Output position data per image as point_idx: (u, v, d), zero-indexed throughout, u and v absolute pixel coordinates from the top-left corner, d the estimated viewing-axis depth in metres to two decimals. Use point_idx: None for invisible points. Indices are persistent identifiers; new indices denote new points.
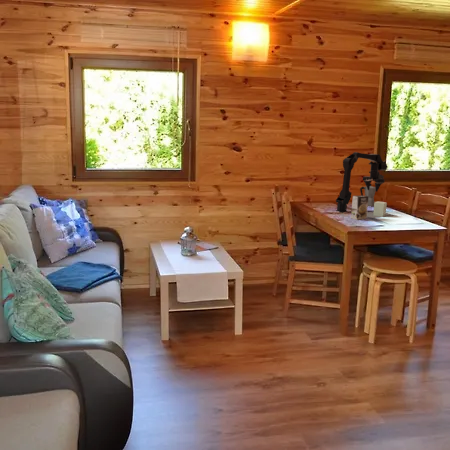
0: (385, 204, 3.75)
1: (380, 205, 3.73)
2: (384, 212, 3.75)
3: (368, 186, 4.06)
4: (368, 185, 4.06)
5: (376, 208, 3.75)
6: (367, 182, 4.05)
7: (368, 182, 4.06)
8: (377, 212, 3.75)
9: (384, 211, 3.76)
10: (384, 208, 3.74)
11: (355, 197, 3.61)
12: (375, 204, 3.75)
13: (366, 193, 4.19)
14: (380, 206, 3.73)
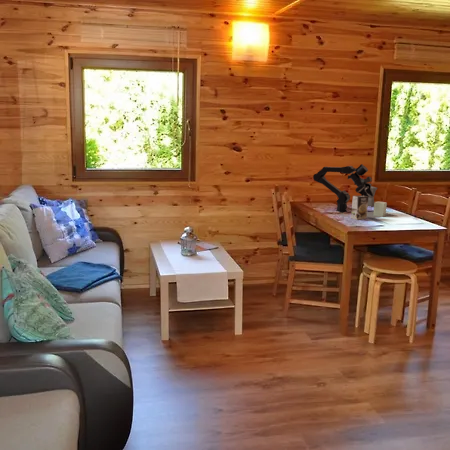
0: (385, 204, 3.75)
1: (380, 205, 3.73)
2: (384, 212, 3.75)
3: (370, 193, 3.84)
4: (369, 192, 3.84)
5: (376, 208, 3.75)
6: (366, 190, 3.85)
7: (367, 189, 3.85)
8: (377, 212, 3.75)
9: (384, 211, 3.76)
10: (384, 208, 3.74)
11: (355, 197, 3.61)
12: (375, 204, 3.75)
13: None
14: (380, 206, 3.73)
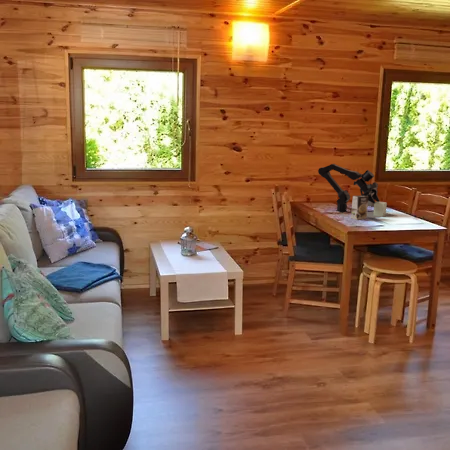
0: (385, 204, 3.75)
1: (380, 205, 3.73)
2: (384, 212, 3.75)
3: (376, 199, 3.82)
4: (375, 198, 3.82)
5: (376, 208, 3.75)
6: (372, 196, 3.83)
7: (374, 195, 3.83)
8: (377, 212, 3.75)
9: (384, 211, 3.76)
10: (384, 208, 3.74)
11: (355, 197, 3.61)
12: (375, 204, 3.75)
13: None
14: (380, 206, 3.73)
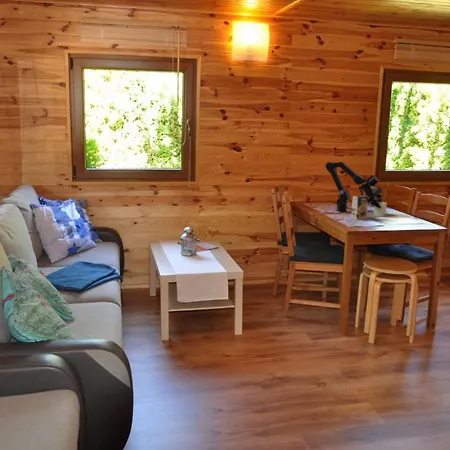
0: (385, 204, 3.75)
1: (380, 205, 3.73)
2: (384, 212, 3.75)
3: None
4: None
5: (376, 208, 3.75)
6: None
7: (378, 200, 3.80)
8: (377, 212, 3.75)
9: (384, 211, 3.76)
10: (384, 208, 3.74)
11: (355, 197, 3.61)
12: None
13: None
14: None
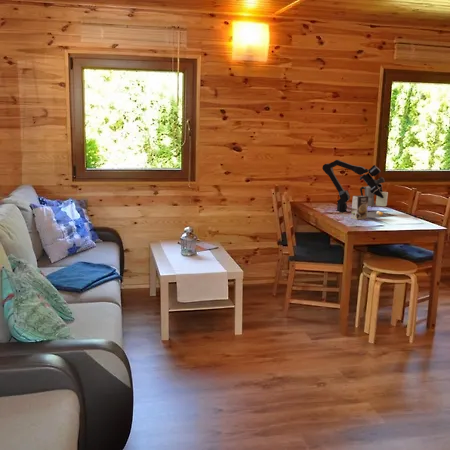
0: (387, 194, 3.78)
1: None
2: (386, 202, 3.78)
3: None
4: None
5: (379, 198, 3.77)
6: None
7: None
8: (380, 202, 3.77)
9: (386, 201, 3.79)
10: (386, 198, 3.77)
11: (355, 197, 3.61)
12: None
13: (366, 193, 4.19)
14: (383, 196, 3.75)
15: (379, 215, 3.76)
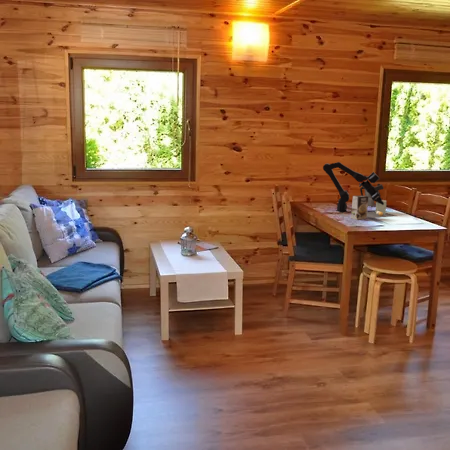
0: None
1: None
2: None
3: None
4: None
5: (378, 206, 3.83)
6: None
7: None
8: (380, 210, 3.83)
9: None
10: (385, 206, 3.84)
11: (355, 197, 3.61)
12: (377, 202, 3.83)
13: (366, 193, 4.19)
14: None
15: (379, 215, 3.76)
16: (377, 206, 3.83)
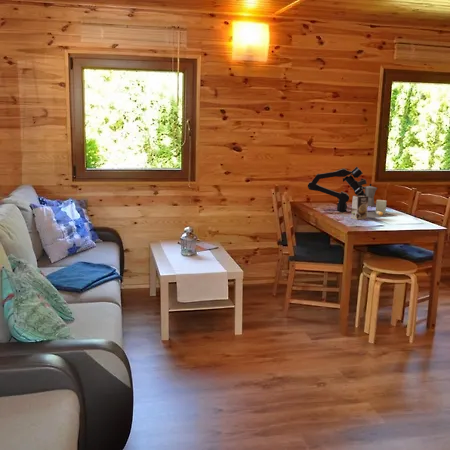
0: None
1: (382, 203, 3.82)
2: None
3: (363, 194, 3.92)
4: None
5: (378, 206, 3.83)
6: None
7: None
8: (380, 210, 3.83)
9: None
10: (385, 206, 3.84)
11: (355, 197, 3.61)
12: (377, 202, 3.83)
13: (366, 193, 4.19)
14: (382, 204, 3.82)
15: (379, 215, 3.76)
16: (377, 206, 3.83)
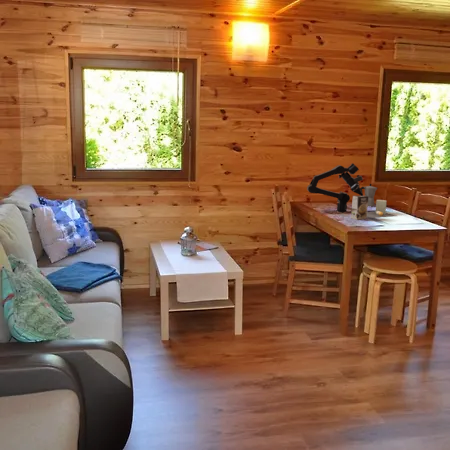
0: None
1: (382, 203, 3.82)
2: None
3: (359, 191, 3.92)
4: None
5: (378, 206, 3.83)
6: None
7: None
8: (380, 210, 3.83)
9: None
10: (385, 206, 3.84)
11: (355, 197, 3.61)
12: (377, 202, 3.83)
13: (366, 193, 4.19)
14: (382, 204, 3.82)
15: (379, 215, 3.76)
16: (377, 206, 3.83)
